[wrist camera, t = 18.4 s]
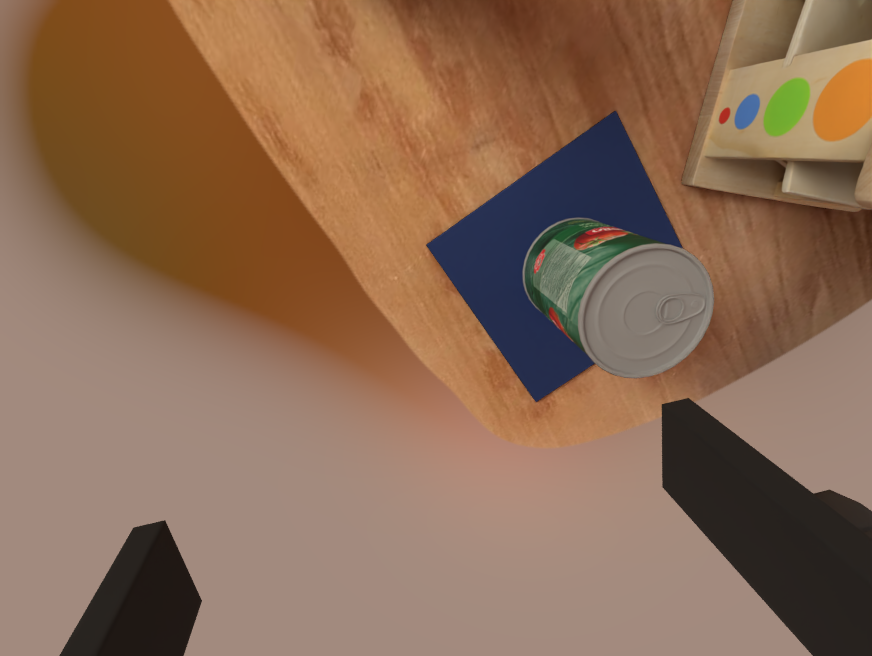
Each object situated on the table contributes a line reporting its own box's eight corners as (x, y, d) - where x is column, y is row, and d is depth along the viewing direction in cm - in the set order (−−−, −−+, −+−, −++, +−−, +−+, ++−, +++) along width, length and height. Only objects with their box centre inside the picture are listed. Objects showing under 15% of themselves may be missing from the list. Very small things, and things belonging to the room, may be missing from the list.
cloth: (426, 244, 37) (426, 245, 37) (614, 111, 35) (616, 111, 35) (534, 400, 42) (536, 402, 42) (701, 290, 41) (704, 291, 41)
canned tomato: (526, 327, 40) (581, 390, 29) (517, 226, 37) (575, 257, 27) (623, 309, 40) (711, 365, 30) (622, 209, 38) (718, 232, 27)
